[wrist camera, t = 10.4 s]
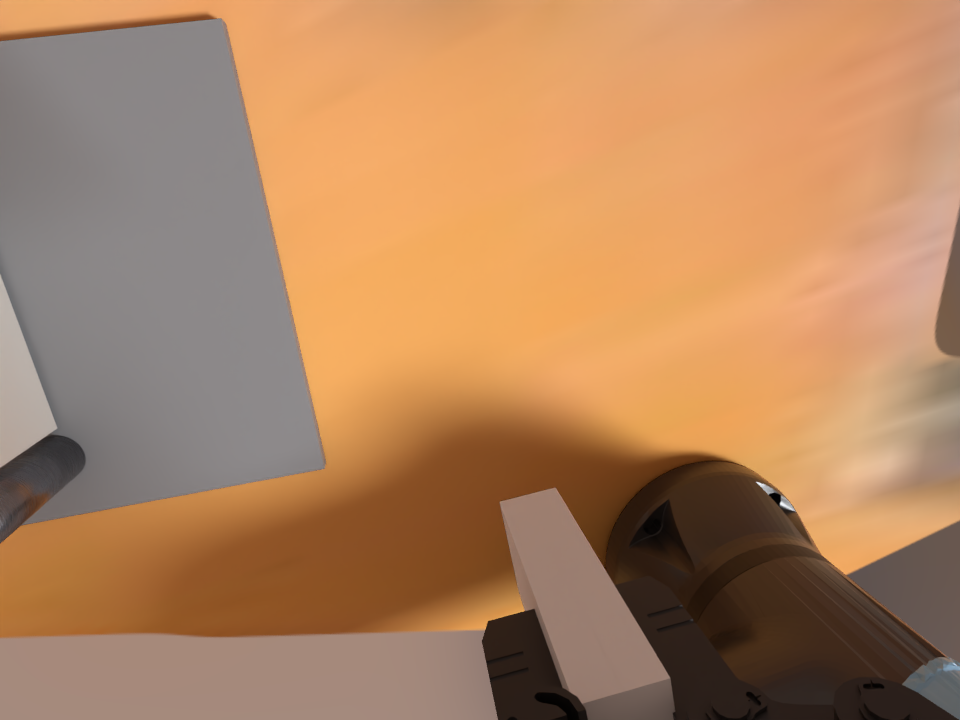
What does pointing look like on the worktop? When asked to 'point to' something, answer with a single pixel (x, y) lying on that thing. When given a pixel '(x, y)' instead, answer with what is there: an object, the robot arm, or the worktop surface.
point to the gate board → (148, 266)
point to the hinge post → (36, 479)
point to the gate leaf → (19, 389)
